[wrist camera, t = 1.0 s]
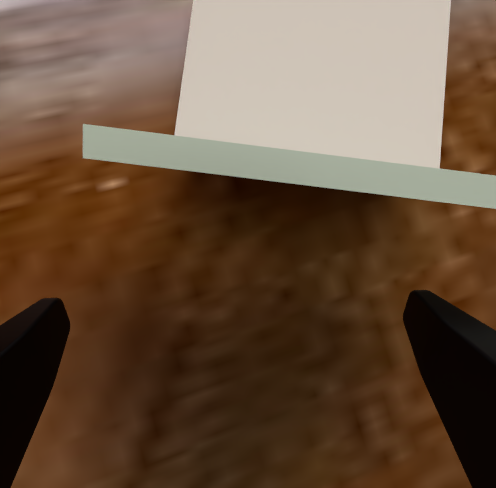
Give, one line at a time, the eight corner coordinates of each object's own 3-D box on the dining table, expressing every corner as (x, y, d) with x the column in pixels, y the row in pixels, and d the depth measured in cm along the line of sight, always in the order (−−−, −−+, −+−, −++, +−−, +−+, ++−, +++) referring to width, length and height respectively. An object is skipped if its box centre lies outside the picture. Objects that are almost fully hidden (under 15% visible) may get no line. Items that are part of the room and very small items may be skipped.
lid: (440, 171, 19) (436, 187, 19) (172, 138, 18) (171, 154, 18) (645, 194, 9) (633, 225, 9) (83, 123, 9) (83, 157, 9)
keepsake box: (399, 195, 24) (442, 173, 19) (183, 168, 23) (169, 139, 18) (411, 49, 25) (455, -9, 20) (204, 21, 24) (195, -44, 19)
